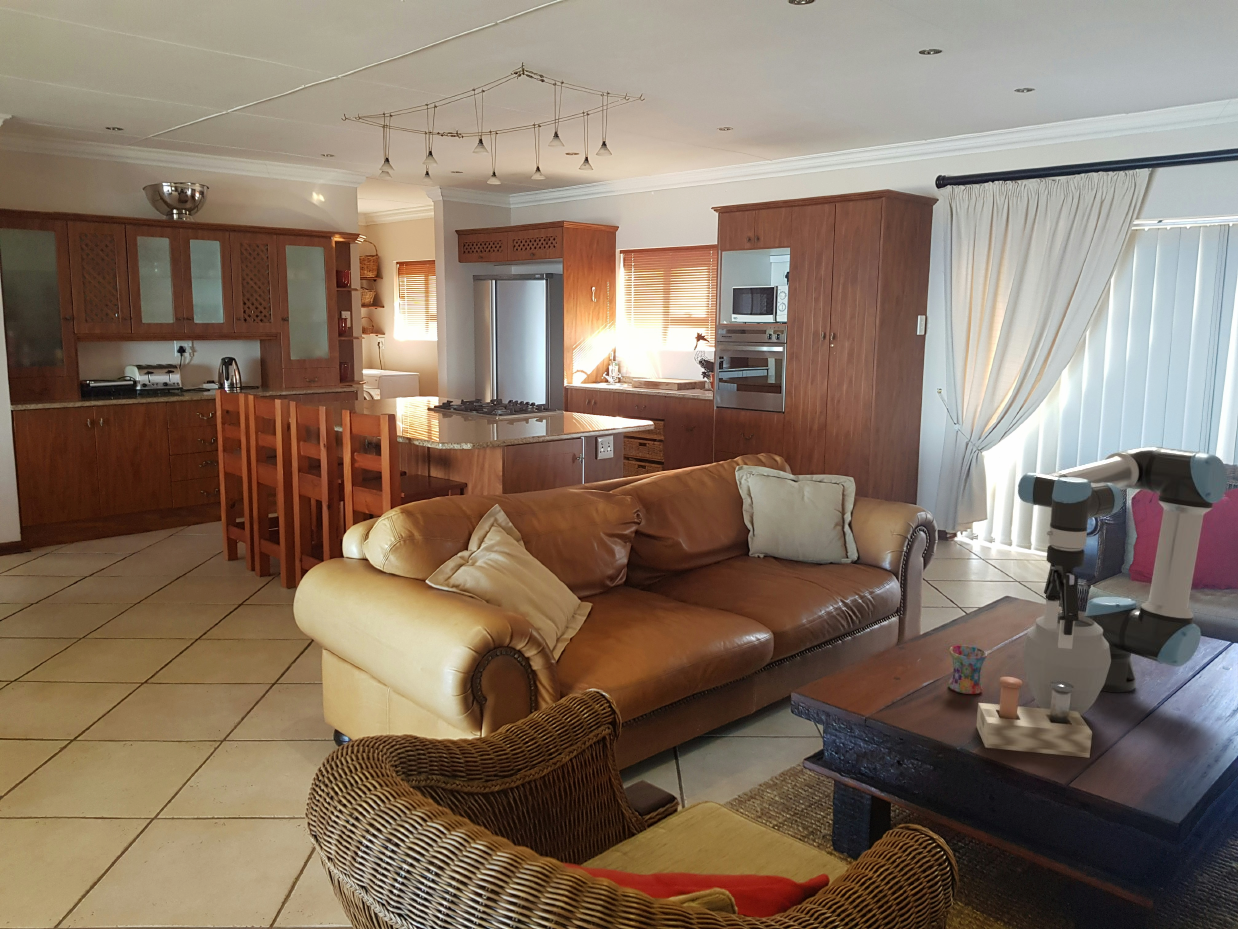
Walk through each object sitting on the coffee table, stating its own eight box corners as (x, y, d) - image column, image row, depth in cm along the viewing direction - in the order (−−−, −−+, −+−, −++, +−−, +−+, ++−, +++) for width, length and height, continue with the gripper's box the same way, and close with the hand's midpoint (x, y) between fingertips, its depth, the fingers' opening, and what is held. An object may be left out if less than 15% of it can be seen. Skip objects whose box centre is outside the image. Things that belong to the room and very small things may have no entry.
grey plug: (1066, 718, 211) (1070, 682, 210) (1072, 727, 207) (1076, 690, 205) (1044, 716, 212) (1048, 680, 211) (1050, 725, 208) (1053, 688, 206)
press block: (1075, 735, 215) (1077, 711, 214) (1089, 757, 204) (1092, 732, 203) (976, 726, 219) (978, 702, 218) (985, 747, 208) (987, 722, 207)
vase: (1100, 738, 214) (1111, 639, 210) (1011, 718, 224) (1020, 622, 220) (1107, 708, 230) (1117, 615, 226) (1024, 690, 240) (1032, 601, 236)
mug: (973, 700, 234) (977, 660, 232) (940, 689, 241) (942, 650, 239) (995, 687, 242) (998, 649, 240) (961, 677, 249) (964, 640, 247)
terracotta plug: (1016, 713, 214) (1019, 677, 212) (1021, 722, 209) (1024, 686, 207) (994, 711, 214) (997, 676, 213) (999, 720, 210) (1002, 684, 208)
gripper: (1035, 533, 217) (1027, 618, 221) (1062, 559, 193) (1052, 655, 197) (1069, 535, 216) (1061, 621, 219) (1100, 562, 192) (1090, 658, 195)
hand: (1057, 637), depth 208 cm, fingers open, 13 cm apart
